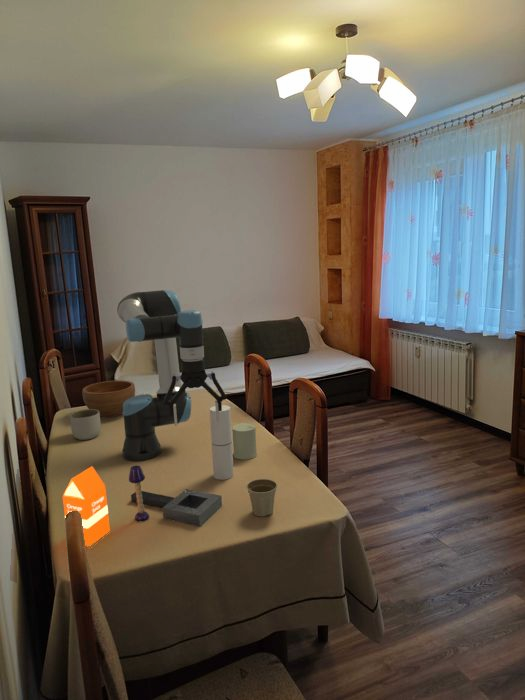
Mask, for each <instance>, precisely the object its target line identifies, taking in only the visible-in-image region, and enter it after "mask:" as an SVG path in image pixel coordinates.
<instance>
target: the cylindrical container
mask: <svg viewBox="0 0 525 700" xmlns="http://www.w3.org/2000/svg"><path fill="white" fill-rule="evenodd" d="M209 421H210V423H209V424H210V435H211V437H210V438H211V439H210V440H211V451H212V452H211V453H212V456H211V457H212V472H213V475H212V476H213V478H214V479H216V480H220V481H221V480H224V481H225V480H228V479H231V478H233V477H234V474H235V473H234V456H233V454H234V452H233V432H232V415H231V407H230V405H226V404H222V410H221V411H219V422H217V420H216V407H215V405H214V406H211V407H210V408H209Z"/></svg>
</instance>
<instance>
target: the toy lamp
mask: <svg viewBox="0 0 525 700" xmlns="http://www.w3.org/2000/svg"><path fill="white" fill-rule="evenodd" d="M142 469H143V468H142V467H141V466H140V465H137V464H136V465H133V466H131V467H130V470H129V474H128V482H129V483H130V484H131V483H132V484H134V489H135V492H136V494H137V495H136V498H137V503H136V504H137V508H138V509H137V510H138V512H137V513H135V516H134V521H136V522H139V521H142V522H145V520H146V521H147V520H149V518H150V515H149V512H147V511H145V505H143V499H142V494H141V493H142V491H143V490H142V485H141V484H142V483H141V482H144V480H145V478H146V476H145V474H144V471H143V470H142Z"/></svg>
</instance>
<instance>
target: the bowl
mask: <svg viewBox="0 0 525 700" xmlns="http://www.w3.org/2000/svg"><path fill="white" fill-rule="evenodd" d="M81 395H82V399H83V403H84V404H85V406H86V407H87V409H95V410H98V411H99V413H100V417H103V418H113V417H117V416H120V415H121V414H122V415H123V403H124V402H125V401H126V400H127V399H129V398H131V397H134V396H136V387H135V383H134V382H133V381H129V380H107V381H101V382H96V383H91V384H89V385H86V386H85V387H83V388H82V394H81Z"/></svg>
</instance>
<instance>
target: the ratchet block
mask: <svg viewBox="0 0 525 700" xmlns="http://www.w3.org/2000/svg"><path fill="white" fill-rule="evenodd" d="M141 494H142V499H143V505H144V506H149V507H153V508H157V509H158V508H159V509H162V516H163V517H162V519H164V518H165V520H170V521H173V520H174V522H176V523H177V522H178V523H182V524H186V525H187V524H188V525H191V526H194V527H201V526H203V524H205V522H207V521H208V520H209V519H210V518H211V517H212V516H213V515H214V514H215V513H216V512H217V511H218V510H219V509H221V507H223V501H222V500H223V499H222V495H220V494H215V493H211V492H210V493H209V492H206V491H205V492H204V491H200V490H194V489H189V488H186V489H184V490H183V491H182V492H181V493H179V494H178V495H176V496H175V497H173V496H167V495H164V494H158V493H155V492H154V493H153V492H149V491H145V490H142V493H141ZM136 495H137V494H136V491H135V492H133V493H131V495H130V499H131V503H135V504H138V503H137V498H136ZM208 518H209V519H208ZM207 519H208V520H207Z"/></svg>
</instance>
